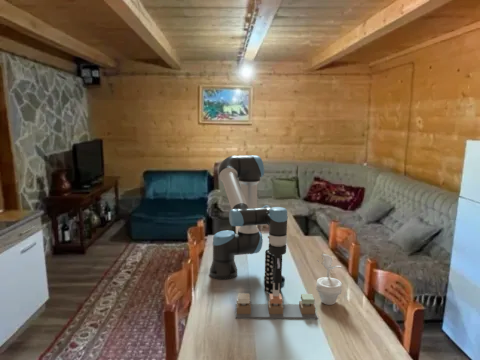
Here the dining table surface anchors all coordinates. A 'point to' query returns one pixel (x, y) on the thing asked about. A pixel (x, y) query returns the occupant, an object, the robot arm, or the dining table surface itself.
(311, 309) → the button board
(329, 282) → the potted plant
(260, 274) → the dining table surface
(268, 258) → the spotted tube
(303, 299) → the button sage
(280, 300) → the orange cube
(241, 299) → the button cream
